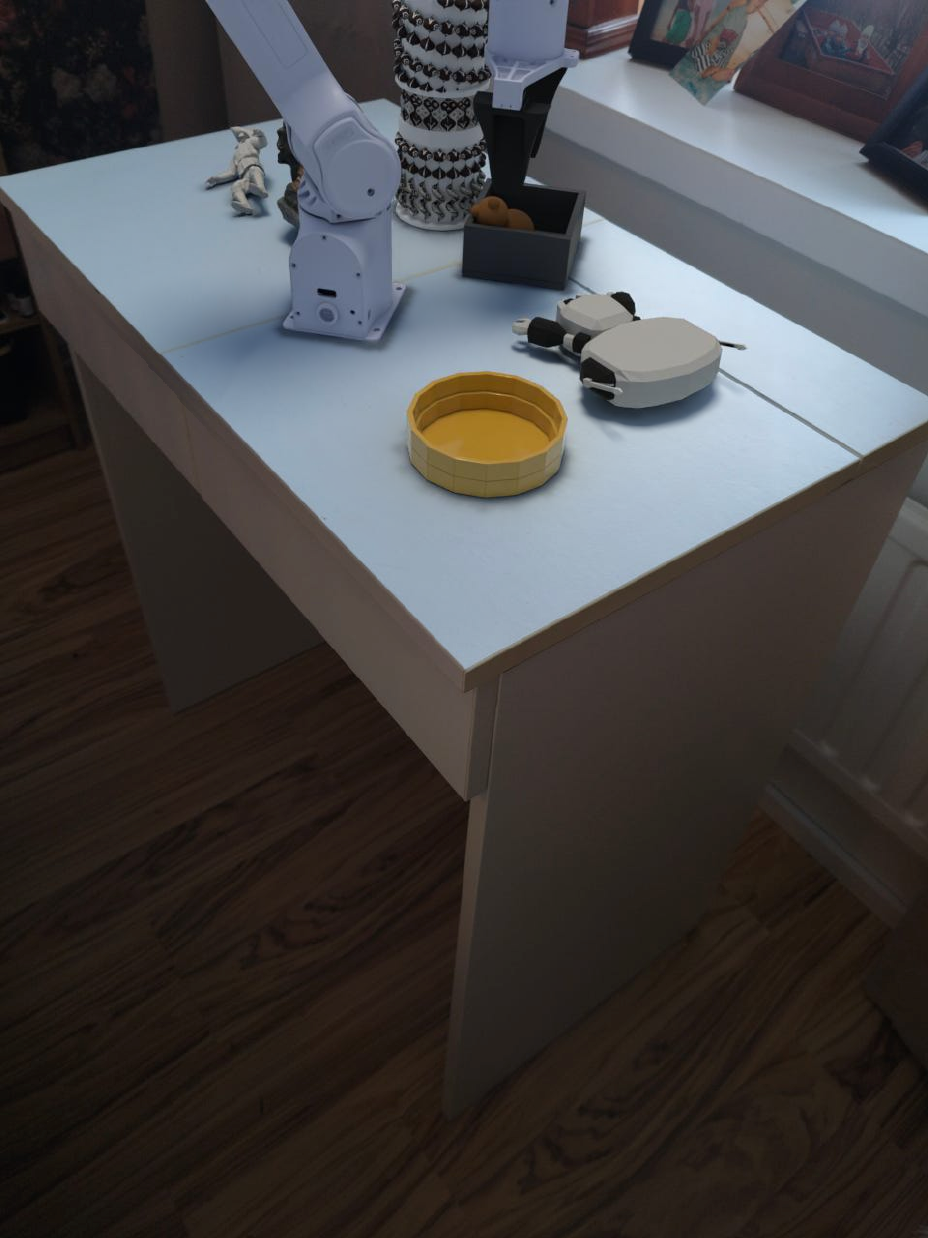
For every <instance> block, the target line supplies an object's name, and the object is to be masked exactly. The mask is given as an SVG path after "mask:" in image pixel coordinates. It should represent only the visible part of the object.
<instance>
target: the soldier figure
mask: <svg viewBox="0 0 928 1238" xmlns="http://www.w3.org/2000/svg"><path fill="white" fill-rule="evenodd" d="M229 130H230V131H231V133H232V135H233V137H234V138H235V140H236V141H237V143H238V144H237V145H236V146H235V147H234V149H235V150H234V152H233V154H232V157H231V161H230V164H229V168H228V170H227V171H226V172H224V173H220V174H216V175H210V176H208V177H207V178H206V179H205V181H204V185H206V184H207V183H209V184H210V187H211V188H212V187H213V186H214V184H215V183H216V184H222V183H226V182H229V181H233V180H234V179H236V177H237V176H238V177H239V179H237V180H236V181H235V182H234V183H232V184H231V186H230V192H231V196H232V198H233V201H232V202H231V203H230V206H231V207H232V208H233V210H235V211H236V212H238V213H240V212H241V213H244V214H246V215H250V214H252V213H253V208H252V206H251V205H250V203H249V202H248V199H247V197H246V195H248V194H250V193H251V194H253V195H255V196H258V197H260V198H262V199H268V198H269V193H268V191H267V189H266V188H265V184H264V182H265V177H266V172H265V168H264V166H263V165H262V163H261V161H260V154H261V150H263V149H264V148H266V147H267V146H268V139H267V136H266V134H265V132H264V131H263V130H262V129H261V128H259V127H251V129H249V128H244V127H241V126H231V127H230V128H229Z"/></svg>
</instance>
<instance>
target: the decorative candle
mask: <svg viewBox="0 0 928 1238" xmlns="http://www.w3.org/2000/svg"><path fill="white" fill-rule="evenodd" d="M489 5H490V0H391V5H390V6H391V8H392V9H393V10H394V11H393V13H392V15H391V22H390V25H391V27H392V28H393V30H395V34H396V36H397V37H396V38H395V39H394V40H393V54H394V55H395V56H396V57H395V59H394V65H393V67H392V71H393V72H394V74H395V76H394V81H395V83H396V84H397V86H398V87H399V88H401V90H400V99H399V100H400V106H401V109H400V111H399V114H398V130H397V132H396V135H395V136H396V137H395V138H394V144H395V145H397V146H398V149H396V151H397V153H398V155H399V158H400V163H401V181H400V184H399V188H398V190H397V192H396V194H395V196H394V198H395V199H396V201H397V205H396V207H395V212H396V214H397V216H398V217H399V219H400V220H402V221H403V222H405V223H406V224H408V225H410V226H412V227H416V228H420V229H424V230H429V231H441V232H445V231H456V230H462V229H464V224H465V222H466V220H467V218H468V216H469V214H470V212H471V208H472V207H473V206H474V204H475V202H476V200H477V198H478V196H479V194H480V192H481V190H482V188H483V186H484V184H485V182H486V179H487V178H486V176H487V175H486V174H485V172H483V170H482V169H483V168H485V167H486V164H487V161H486V160H487V155H486V154H485V153H484V151H486V150H487V147H486V142H485V139H484V135H483V132H482V129H481V127H480V124H479V122H478V120H477V118H476V116H475V114H474V110H473V98H474V96H475V94H476V93H477V91H485V92H486V90H488V89H489V88H490V83H491V77H493V76H492V74H491V72H490V70H489V67H488V65H487V63H486V61H485V58H484V49H485V45H486V44H487V43H488V24H489V17H488V12H489Z"/></svg>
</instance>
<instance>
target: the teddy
mask: <svg viewBox="0 0 928 1238" xmlns="http://www.w3.org/2000/svg"><path fill="white" fill-rule="evenodd" d="M471 215H472V216H473V217H476V219H477V222H478V224H481V225H488V226H495V227H503V228H510V229H517V230H525V231H532V232H534V226H533V223H532V221H531V219H530V218H529V216H528V215H527V214H526V213H524V212H522V211H520V210H517V209H508V208H507V206H506V204H505V202H504V201H503V200H501V199H500V198H498V197H493V196H491V197H487V198H485V199H483V200H482V201H481V202H480V203H479V205H474V206H473V207H472V208H471Z"/></svg>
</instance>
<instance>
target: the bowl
mask: <svg viewBox="0 0 928 1238" xmlns="http://www.w3.org/2000/svg"><path fill="white" fill-rule="evenodd" d="M568 422H569V418H568V416H567V414H566V411H565V409H564V407H563V404H562V401H560V399H558V398H557V397H556V396H555V395H554V394H552V392H550V391H549V390H548V389H547V388H545V386H542V385H541V384H538V383H536V382H534V381H531V380H529V379H526V378H524V377H521V376H518V375H515V374H509V373H503V372H496V371H488V370H482V371H468V372H466V371H465V372H457V373H453V374H450V375H447V376H445V377H442V378H441V377H440V378H438V379H435V380H432V381H431V382H429V383H428V384H426V385H425V386H424V387H422V388H421V389H420V390H418V391H417V392H415V394H413V397H412V399H411V401H410V403H409V405H408V408H407V410H406V448H407V452H408V456H409V460H410V461H409V462H410V464H411V465H412V466H413V467H414V468H415V470H417V471H418V472H419V474H421V476H422V477H424V479H425V480H427V481H428V482H430V483H433V484H435V485H436V486H439V487H441V488H443V489H445V490H447V491H449V492H452V493H455V494H459V495H460V494H461V495H466V496H472V497H478V498H483V499H484V498H486V499H487V498H498V497H500V498H501V497H511V496H518V495H521V494H523V493H527V492H528V491H531V490H533V489H537V488H538V487H542V485H544V484H546V483H547V482H548V481H549V480H550V479H551V478H552V477H553V476H554V475H555V474H556V473H557V472H558V471H559V469H560V468H561V467H560V466H561V464H562V463H561V462H562V458H563V455H564V451H565V450H564V449H565V442H566V434H567V429H568Z"/></svg>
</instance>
